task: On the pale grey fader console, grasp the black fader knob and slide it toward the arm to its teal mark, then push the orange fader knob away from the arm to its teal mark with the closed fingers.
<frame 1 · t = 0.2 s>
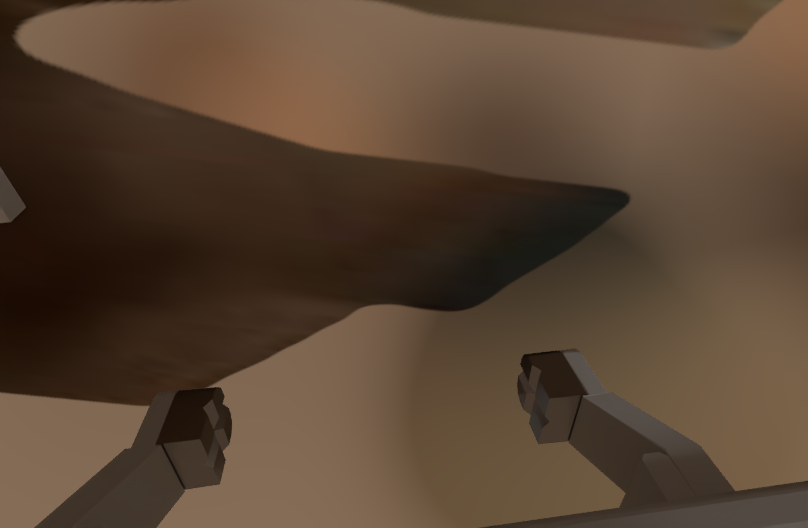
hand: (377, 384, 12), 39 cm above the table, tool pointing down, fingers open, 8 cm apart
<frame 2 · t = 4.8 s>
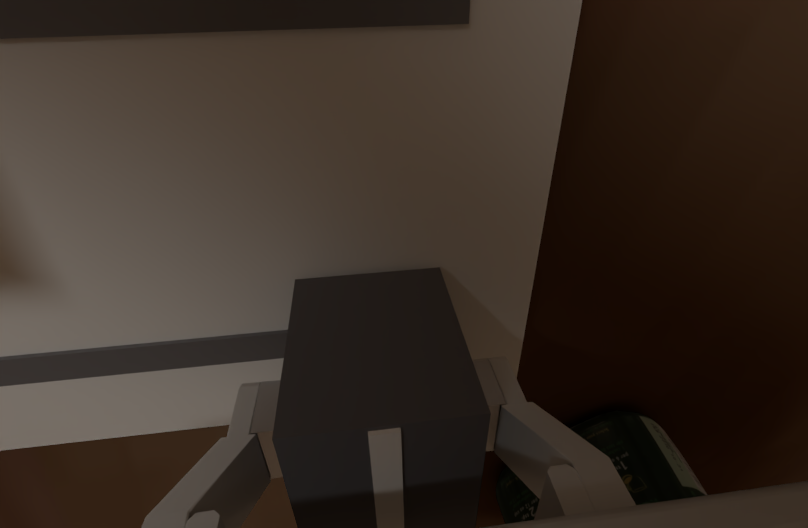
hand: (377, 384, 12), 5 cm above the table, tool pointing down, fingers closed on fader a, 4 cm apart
console: (124, 176, 13), on the table
coffee jar: (577, 456, 25), on the table
fader a: (379, 407, 11), point 6 cm above the table, slide at 7.0 cm, touching gripper
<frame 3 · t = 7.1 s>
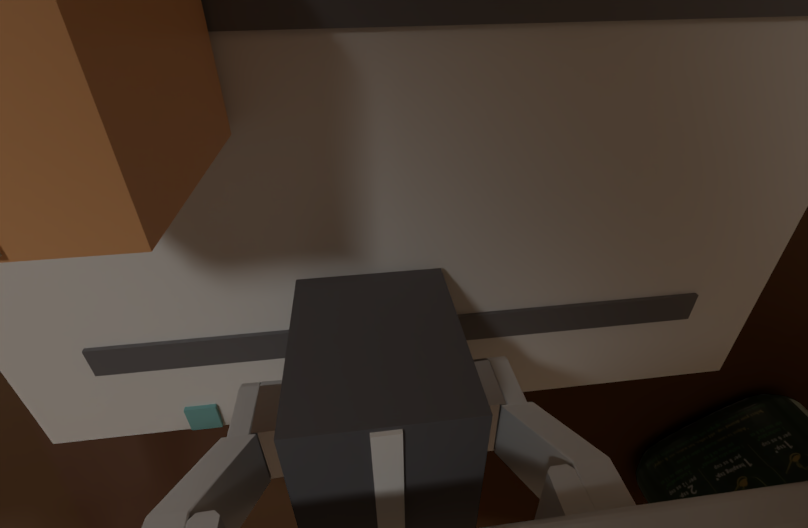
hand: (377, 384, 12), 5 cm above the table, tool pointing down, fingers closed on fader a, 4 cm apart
console: (397, 160, 14), on the table
coffee jar: (709, 439, 26), on the table
fader a: (380, 408, 11), point 6 cm above the table, slide at -1.2 cm, touching gripper
fader b: (2, 14, 6), point 6 cm above the table, slide at -6.0 cm
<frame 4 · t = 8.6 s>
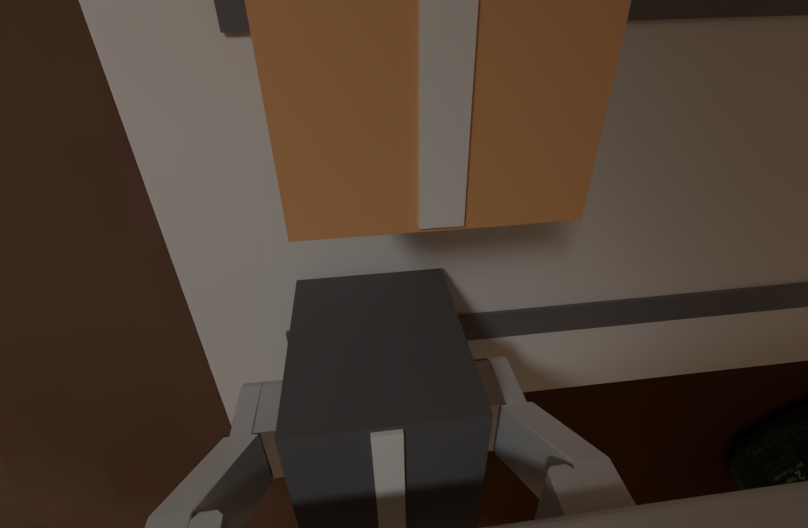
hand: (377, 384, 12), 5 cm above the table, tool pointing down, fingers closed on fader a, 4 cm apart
console: (569, 150, 15), on the table
coffee jar: (800, 428, 26), on the table
fader a: (381, 408, 11), point 6 cm above the table, slide at -6.9 cm, touching gripper
fader b: (413, 6, 7), point 6 cm above the table, slide at -6.0 cm
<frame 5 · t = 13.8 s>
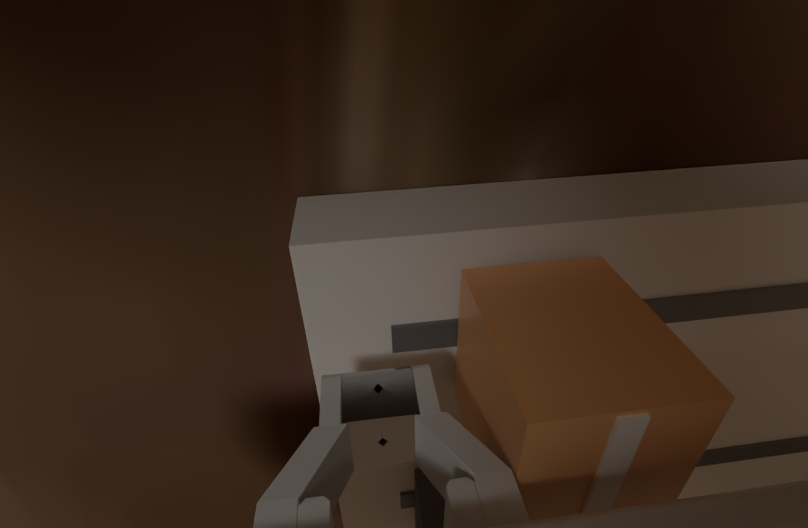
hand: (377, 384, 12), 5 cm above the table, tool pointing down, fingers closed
console: (605, 344, 19), on the table
fader b: (555, 396, 11), point 6 cm above the table, slide at -5.5 cm, touching gripper
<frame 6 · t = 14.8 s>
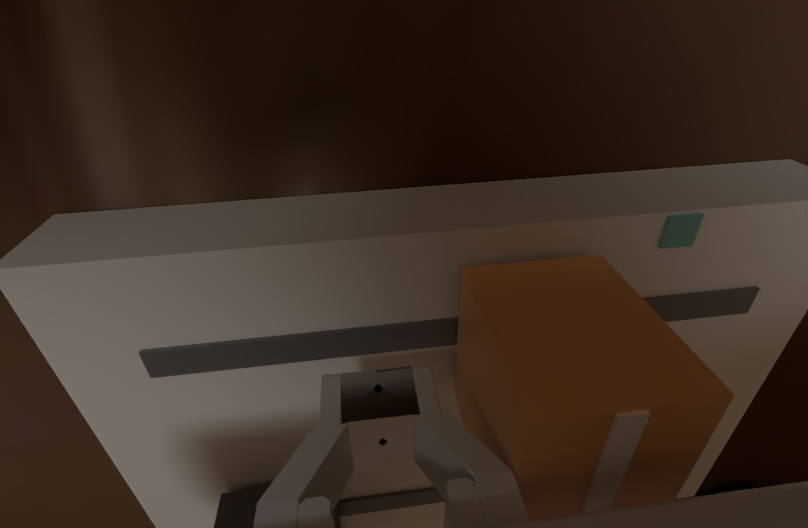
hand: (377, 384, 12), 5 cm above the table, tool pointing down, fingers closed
console: (444, 362, 19), on the table
fader b: (555, 394, 11), point 6 cm above the table, slide at 1.6 cm, touching gripper
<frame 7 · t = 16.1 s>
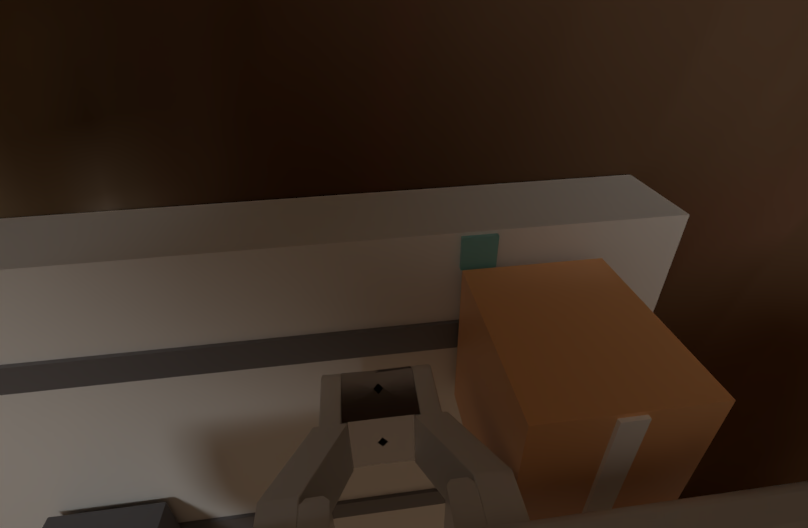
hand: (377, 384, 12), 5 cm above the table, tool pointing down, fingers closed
console: (302, 379, 18), on the table
fader b: (555, 398, 11), point 6 cm above the table, slide at 7.5 cm, touching gripper
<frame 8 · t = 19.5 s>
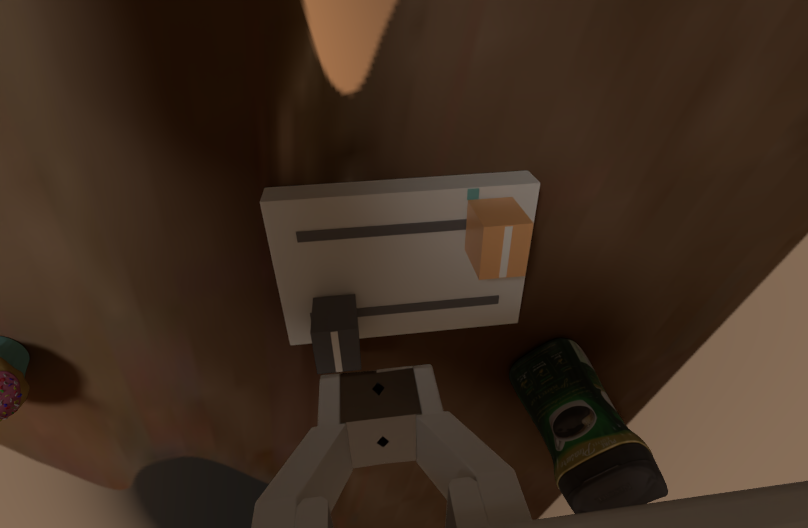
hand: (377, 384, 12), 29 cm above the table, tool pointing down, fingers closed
console: (401, 253, 44), on the table
coffee jar: (545, 362, 56), on the table
fader a: (336, 333, 41), point 6 cm above the table, slide at -6.9 cm
cupcake: (3, 352, 45), on the table
fader b: (496, 237, 38), point 6 cm above the table, slide at 7.5 cm
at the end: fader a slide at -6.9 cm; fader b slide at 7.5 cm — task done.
